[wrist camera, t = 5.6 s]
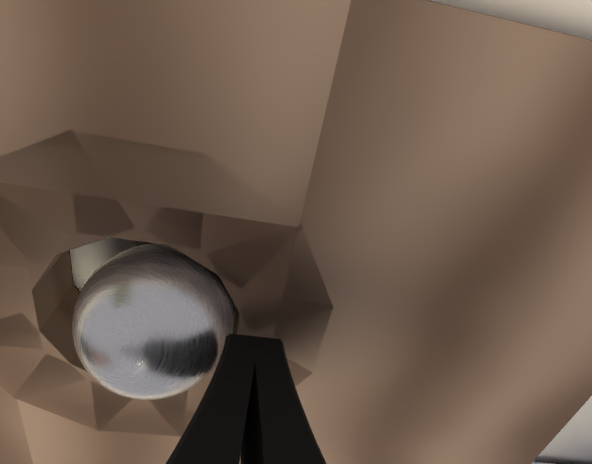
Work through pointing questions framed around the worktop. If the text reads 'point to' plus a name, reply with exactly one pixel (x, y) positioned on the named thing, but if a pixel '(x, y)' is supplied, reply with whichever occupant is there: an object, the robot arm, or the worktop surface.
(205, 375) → the ball
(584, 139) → the deck
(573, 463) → the worktop surface
